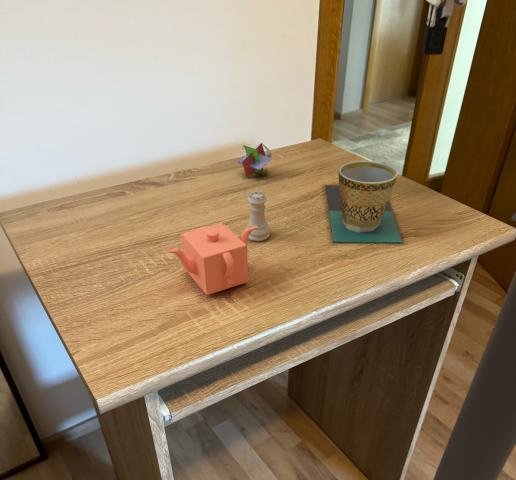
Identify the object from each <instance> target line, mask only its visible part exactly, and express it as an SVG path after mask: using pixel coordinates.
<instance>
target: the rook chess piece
mask: <svg viewBox="0 0 516 480" xmlns="http://www.w3.org/2000/svg"><path fill="white" fill-rule="evenodd" d="M265 195H266V194H265V192H263V191H262V190H260V191H259V193H258V190H254V191H251V192H250V194H249V196H248V198H247V201H248V203H249V204H250V206H249V210H250V215H249V221H248V222H247V225H246V228H247V227H250V226H254V225H255V226H257V227H256V228H255V229H254V230H253V231H252V232H251V233H250V235H249V237H248V240H250V241H251V242H264V241H266V240H267V239H268V238H269V237H270V235H271V232H270V230H271V229H270V225H269V224H268V222H267V220H266V215H265V210H266V205H265V203H266V202H267V197H266V196H265ZM246 228H245V229H246Z"/></svg>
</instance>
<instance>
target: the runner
mask: <svg viewBox="0 0 516 480" xmlns="http://www.w3.org/2000/svg"><path fill="white" fill-rule="evenodd" d="M325 191H326V199H327V207H328V213H329V220H330V228H331V235H332V240H333V243H337V244H339V243H342V244H344V243H345V244H349V243H350V244H352V243H353V244H403V240H402V237H401V235H400V233H399V229H398V226H397V223H396V220H395V217H394V215H393V212H392V209H391V206H390V203H389V202H388V203H387V206H386V208H385V211H384V214H383V217H382V220H381V222H380V225H379V226H378V227H377V228H376V229H375V230H374V231H370V232H361V233H359V232H355V231H352V230H348V229H347V228H346V227H345V225H344V224H343V222H342V210H341V196H340V189H339V184H338V185H337V184H336V185H334V184H333V185H329V184H328V185H325Z"/></svg>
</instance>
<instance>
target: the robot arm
mask: <svg viewBox="0 0 516 480" xmlns="http://www.w3.org/2000/svg"><path fill="white" fill-rule="evenodd" d="M467 1H468V0H426V2H427V3H429V8H428V14H427V20H426V26H425V31H424V36H423V43H422V49H421V52H422V53H423V55H428V56H430V55H431V56H433V55H434V56H435V55H442V54H443V52H444V48H445V42H446V37H447V33H448V27H449V24H450V20H451V17H452V15H453V11H454V5H455V6H457V7H459V8H460V7H464V6H465V5H466V4H467Z"/></svg>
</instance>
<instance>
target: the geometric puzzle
mask: <svg viewBox="0 0 516 480" xmlns="http://www.w3.org/2000/svg"><path fill="white" fill-rule="evenodd" d="M258 143H259V142H258ZM258 143H256V144H258ZM248 145H251V144H248ZM242 148H243V149H244V151H245V154H244V153H241V154H242V156H241V158H240V159H238V161H237V164H238V165H240V166H243V168H242V167H240V168H241V170H242V171H243V173H244V174H245V177H246V178H249V177H252V176H253V175H254V174H256V173H258V174H260V175H261V176H266V173H267V171H268V170H267V167H266V166H267V164H268V163H270V162H271V160H272V159H273V157H272V152H271V150H270V149H269V148H268V147H267V146H266V145H265V144H264V143H263V142H260V143H259V144H258V145H256V146H255V147H252V146H251V147H250V146H247V145H246V144H242ZM264 167H265V169H264ZM255 177H257V176H256V175H255V176H254V178H255Z"/></svg>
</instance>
